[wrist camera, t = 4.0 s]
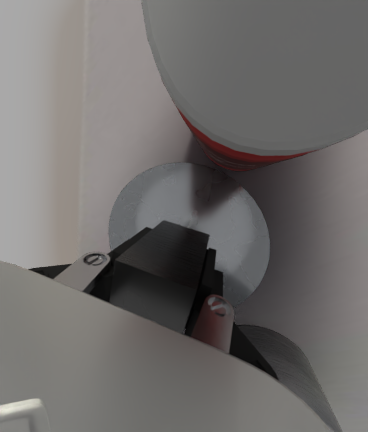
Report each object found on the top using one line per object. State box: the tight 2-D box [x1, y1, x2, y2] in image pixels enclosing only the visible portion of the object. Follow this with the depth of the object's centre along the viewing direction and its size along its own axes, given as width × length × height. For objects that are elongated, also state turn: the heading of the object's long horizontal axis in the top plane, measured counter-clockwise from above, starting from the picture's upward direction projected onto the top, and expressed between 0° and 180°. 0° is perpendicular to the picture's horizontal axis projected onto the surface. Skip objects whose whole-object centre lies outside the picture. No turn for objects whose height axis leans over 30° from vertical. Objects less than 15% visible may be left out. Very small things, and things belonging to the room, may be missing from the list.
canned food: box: [141, 0, 368, 171], centre depth 9 cm, size 8×8×11 cm
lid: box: [109, 163, 270, 334], centre depth 11 cm, size 13×13×7 cm
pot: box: [237, 325, 342, 432], centre depth 14 cm, size 12×17×9 cm
